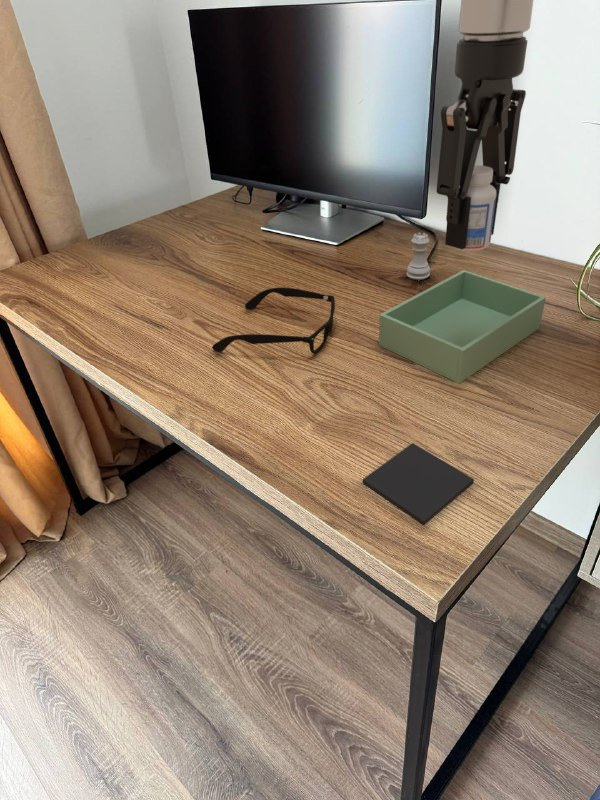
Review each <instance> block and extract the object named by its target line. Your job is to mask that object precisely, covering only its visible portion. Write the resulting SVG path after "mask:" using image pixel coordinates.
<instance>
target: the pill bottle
mask: <svg viewBox="0 0 600 800" xmlns="http://www.w3.org/2000/svg"><path fill="white" fill-rule="evenodd" d="M492 177H493V169H492V168H490V167H487V166H483V165H479V164H475V166H474V169H473V173H472V177H471V181H470V185H469V189H468V193H467V197H471V203H470V212H469V221H468V231H467V240H466V248H464V249H459V248H455V247H452V248H453V249H455V250H459V251H463V252H477V251H482V250H485V249H486V248H488V247H489V246H490V245H491V241H492V235H491V233H492V225H493V217H494V209H495V201H496V189H495V188H494V187H493V186H492V185H490V183H491V182H492ZM459 188H460V186H459Z"/></svg>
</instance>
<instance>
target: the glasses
mask: <svg viewBox="0 0 600 800" xmlns="http://www.w3.org/2000/svg"><path fill="white" fill-rule="evenodd" d="M272 293H275V294H278V295H280V296H283V297H287V298H289V297H292V298H303V299H315V300H325V301H326V302H329V303H330V314H329V318H328V319H327V321H326V322H325V323H323V325H321V326H320V327H319V328H318V329H317V330H315V331H314V332H313V333H312V334H311V335H310V336H297V335H281V334H280V335H279V334H267V333H266V334H265V333H264V334H262V333H260V334H258V333H257V334H253V333H252V334H251V333H249V334H248V333H247V334H235V335H229V336H225V337H224V338H222V339H221V340H219V341H217V342H215V343H214V344H213V345H212V346H211V348H212V350H213V351H214V352H216V353H222V352H223V351H225V349H227V348H228V347H229V346H230V344H232V343H233V342H234V341H237V340H238V341H242V342H246V343H248V344H251V345H260V344H261V345H262V344H263V345H264V344H280V343H284V344H285V343H298V342H302V343H306V344H308V347H309V350H310V353H311V354H313V355H315V354H317V353H319V352H320V351H321V350H322V349H324V346H325V344H326V343H327V340H328V338H329V335H330V333H332V330H333V323H334V314H335V308H336V300H335V299H336V298H335V296H334V295H329V294H322V293H319V292H314V291H310V290H305V289H299V288H295V287H294V288H293V287H272V288H271V287H270V288H268V289H265V290H263V291H260V292H259V293H256V295H255V296H253V297H252V298H251V299H249V300H248V301H247V302H246V303H245V305H244V308H245V309H246V310H253V309H256V308H257V307H258V305H260V303H261V302H262V301H264V299H265V298H266V297H267V296H268V295H270V294H272ZM322 331H323V335H322V337H323V338H322V342H321V343H320V345H319V346H318V347H317V348H316V349H315V339H316V337H317V336H318V335H319V334H320V333H321V332H322Z"/></svg>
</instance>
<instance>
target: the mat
mask: <svg viewBox="0 0 600 800" xmlns="http://www.w3.org/2000/svg"><path fill="white" fill-rule="evenodd" d="M474 481H475V478H472V477H471V476H469V475H468V474H467V473H464V472H463V471H461V470H459V469H458V468H456V467H454V466H453V465H451V464H449V463H447V462H445V461H444V460H442V459H441V458H439V457H437V456H436V455H434V454H432V453H430V452H428V451H427V450H426V449H424V448H422V447H420V445H417V444H415V443H411V444H409V445H408V446H407V447H405V448H404V449H402V450H401V451H399V452H398V453H397V454H395V455H394V456H393V457H392V458H390V459H388V460H387V461H386V462H384V463H383V464H381V465H380V466H379V467H377V469H374V470H373V471H372V472H371V473H369V474H368V475H367V476H365V477H364V478H362V484H363V485H365V486H367V487H368V488H369V489H371V490H372V491H374V492H375V493H376V494H378V495H379V496H381V497H383V499H385V500H386V501H388V502H390V503H391V504H393V505H394V506H395V507H397V508H399V510H401V511H403V512H404V513H405V514H407V515H408V516H410V517H411V518H413V519H414V520H416V522H418V523H420V524H422V525H423V526H424V525H425V524H427V523H428V522H429V521H430V520H432V519H433V518H434V517H435V516H437V515H438V513H440V512H441V511H442V510H443V509H444V508H446V507H447V506H448V505H449V504H450V503H451V502H453V501H454V500H455V499H456V498H457V497H458V496H460V495H461V494H462V493H463V492H464V491H466V490H467V489H468V488H469V487H471V486H472V485H473V484H474Z"/></svg>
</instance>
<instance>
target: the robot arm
mask: <svg viewBox="0 0 600 800" xmlns="http://www.w3.org/2000/svg"><path fill="white" fill-rule="evenodd" d="M533 6H534V0H460V8H459V9H460V10H459V21H458V29H457V30H458V33H459V34H460V35H462V36H463V37H462V38H461V39H459V40H458V42H457V43H456V49H455V50H456V51H455V63H454V64H455V65H454V75H455V77H457V78H458V79H460V81H461V87H460V91H459V92H458V96H457V101H456V102H455V103H454V104H453V105H451V106H450V105H443V106H442V107H441V109H440V119H441V128H442V130H441V139H440V140H441V141H440V149H439V150H440V151H439V152H440V153H439V161H438V170H437V181H436V193H437V194H438V195H442V196H444V197H445V196H446V197H447V205H446V217H445V219H446V230H445V240H444V244H445V245H446V246H448V247H452V248H453V247H455V248H459V249H464V248H466V240H467V231H468V221H469V212H470V203H471V197H467V193H468V189H469V185H470V181H471V177H472V173H473V169H474V166H475V165H476V161H477V158H478V154H479V150H480V147H481V152H482V166H487V167H490V168H492V169H493V177H492V182H491V183H490V185H492V186H493V187H494V188H495V189H496V201H495V209H494V217H493V225H492V233H491V236H493V235H494V233H495V225H496V217H497V211H498V204H499V200H500V199H499V197H500V190H501V184H502V185H508V184H509V183H510V180H511V177H510V176H511V175H512V174H513V173H514V169H515V161H516V153H517V147H518V145H517V144H518V139H519V138H518V137H519V128H520V121H521V114H522V109H523V107H524V103H525V99H526V94H527V91H526V90H525V89H516V88H514V84H513V79H514V78H516V77H517V78H518V77H519V76H520V75H522V73H524V68H525V62H526V61H525V60H526V55H527V48H528V39H527V38H526V36H524V33H525V32H527V31H529V29H530V28H531V21H532V13H533ZM507 175H508V176H507ZM459 186H460V188H459ZM455 248H454V249H455Z"/></svg>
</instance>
